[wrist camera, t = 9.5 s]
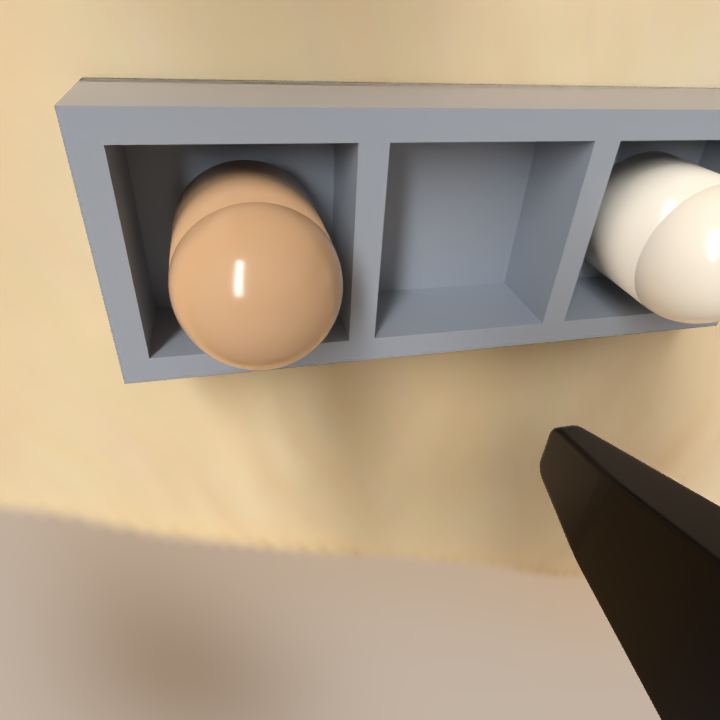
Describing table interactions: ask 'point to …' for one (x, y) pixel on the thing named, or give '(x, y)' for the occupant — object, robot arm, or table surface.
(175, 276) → the brown egg
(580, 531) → the robot arm
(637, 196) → the cream egg
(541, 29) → the table surface
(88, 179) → the egg tray
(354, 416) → the table surface
